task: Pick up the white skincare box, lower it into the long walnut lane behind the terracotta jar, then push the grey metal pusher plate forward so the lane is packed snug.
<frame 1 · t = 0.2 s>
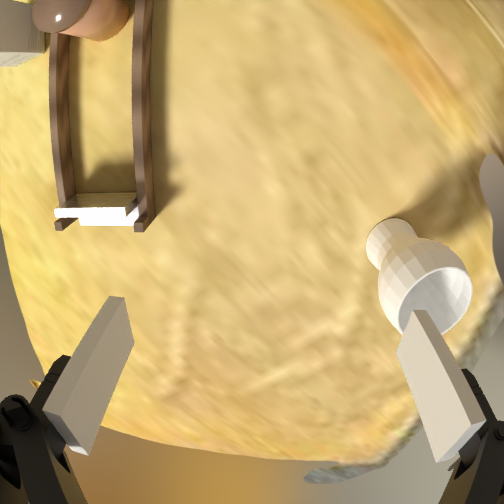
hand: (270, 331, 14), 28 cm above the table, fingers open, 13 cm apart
lane: (102, 97, 34), on the table
pusher: (100, 216, 38), point 3 cm above the table, slide at 0.0 cm
jar: (104, 17, 29), resting in lane
skincare box: (31, 37, 29), on the table
cup: (390, 243, 42), on the table
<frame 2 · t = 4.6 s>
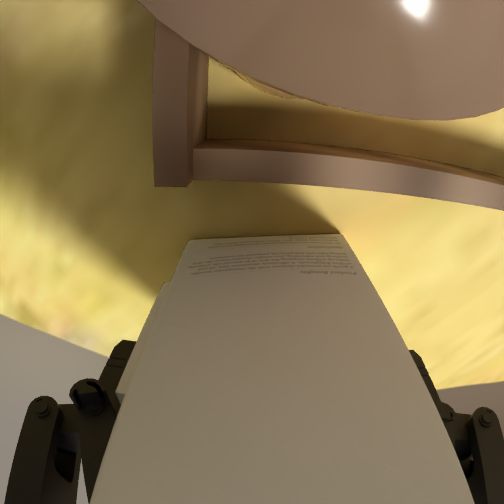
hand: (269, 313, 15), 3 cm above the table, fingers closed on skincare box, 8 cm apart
lane: (499, 81, 11), on the table
jar: (296, 27, 11), resting in lane
skincare box: (269, 281, 17), on the table, touching gripper
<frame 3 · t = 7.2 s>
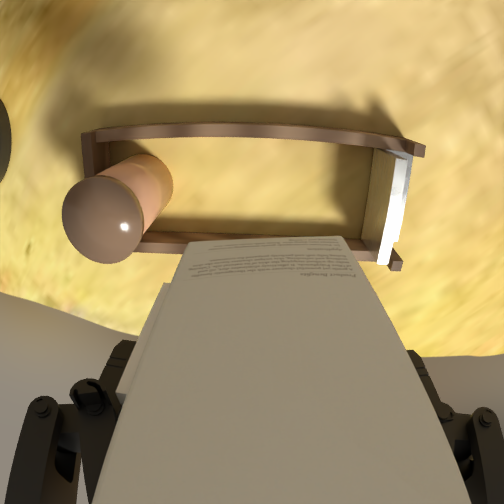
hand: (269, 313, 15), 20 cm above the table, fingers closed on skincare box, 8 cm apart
lane: (248, 186, 33), on the table
pusher: (396, 204, 30), point 3 cm above the table, slide at 0.0 cm
jar: (143, 185, 33), resting in lane
skincare box: (269, 283, 17), point 18 cm above the table, touching gripper
when the fingers open (4 cm above the table, at t = 10.1 s): skincare box drops 2 cm, resting in lane.
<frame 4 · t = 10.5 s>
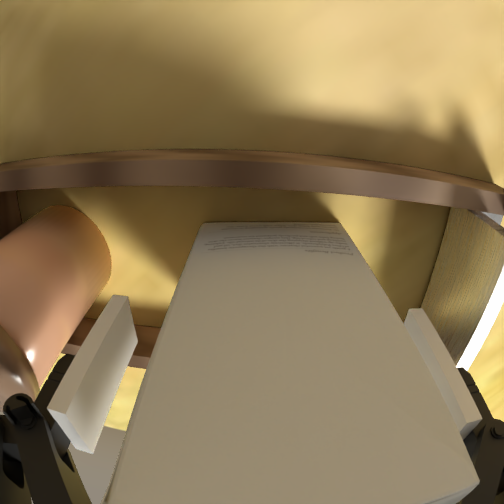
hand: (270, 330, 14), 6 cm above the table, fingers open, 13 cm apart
lane: (234, 264, 19), on the table
pusher: (477, 299, 16), point 3 cm above the table, slide at 0.0 cm
jar: (67, 253, 19), resting in lane
skincare box: (273, 264, 19), resting in lane
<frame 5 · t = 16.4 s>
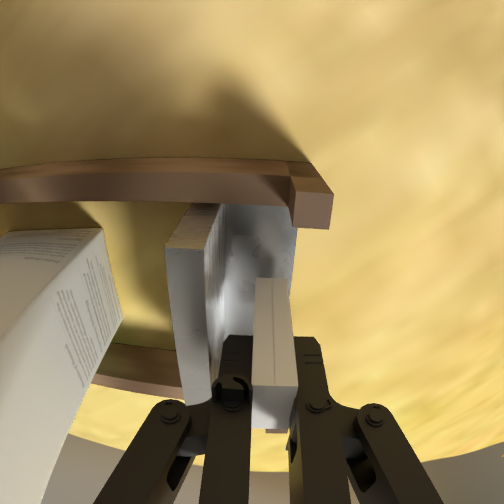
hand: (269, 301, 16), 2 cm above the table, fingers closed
lane: (35, 267, 17), on the table
pusher: (242, 323, 14), point 3 cm above the table, slide at 1.4 cm, touching gripper
skincare box: (64, 269, 18), resting in lane
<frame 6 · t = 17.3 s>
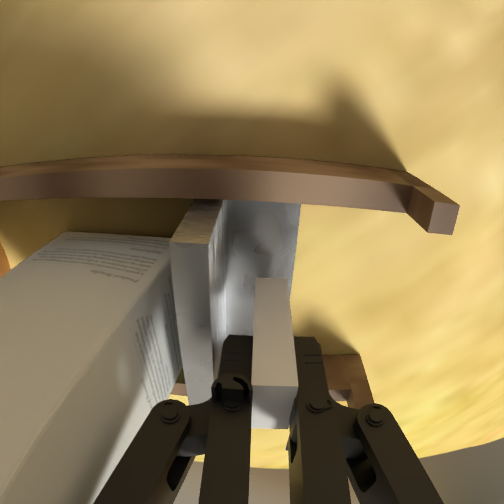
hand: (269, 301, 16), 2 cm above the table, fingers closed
lane: (98, 271, 17), on the table
pusher: (244, 318, 14), point 3 cm above the table, slide at 6.4 cm, touching gripper
skincare box: (130, 278, 17), resting in lane
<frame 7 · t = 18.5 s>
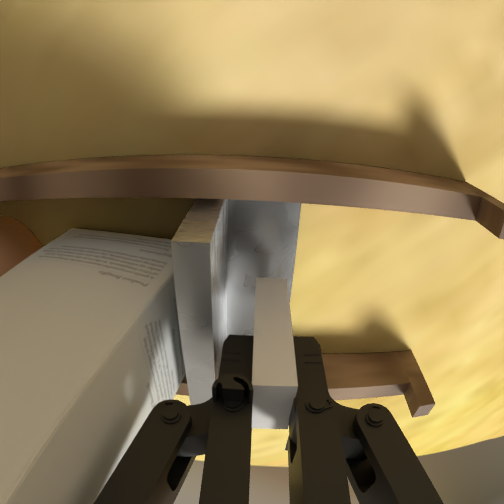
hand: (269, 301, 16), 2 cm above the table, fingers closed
lane: (163, 275, 17), on the table
pusher: (245, 317, 15), point 3 cm above the table, slide at 10.5 cm, touching gripper, skincare box
jar: (14, 262, 17), resting in lane
skincare box: (137, 278, 17), point 1 cm above the table, touching hand, pusher
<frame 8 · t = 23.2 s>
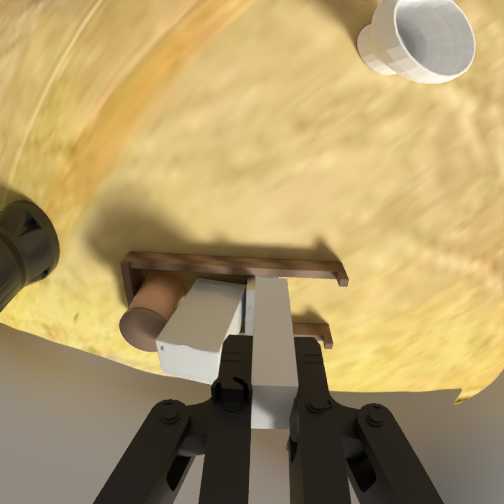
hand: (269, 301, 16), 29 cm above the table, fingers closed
lane: (232, 294, 51), on the table
pusher: (261, 307, 48), point 3 cm above the table, slide at 10.6 cm, touching skincare box
jar: (163, 289, 51), resting in lane
skincare box: (223, 295, 51), point 1 cm above the table, touching pusher
cup: (383, 48, 33), on the table
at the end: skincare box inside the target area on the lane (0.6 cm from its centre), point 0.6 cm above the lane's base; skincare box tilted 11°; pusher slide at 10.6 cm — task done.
